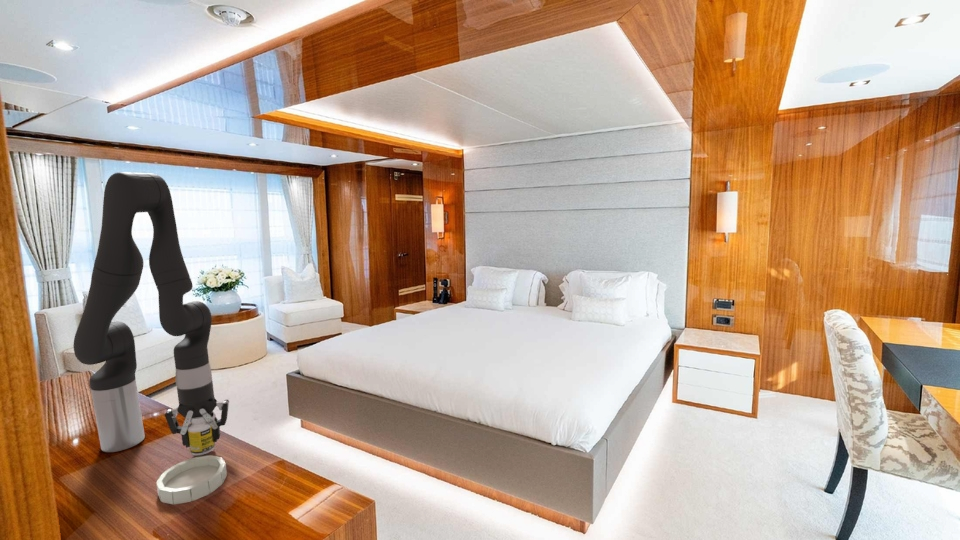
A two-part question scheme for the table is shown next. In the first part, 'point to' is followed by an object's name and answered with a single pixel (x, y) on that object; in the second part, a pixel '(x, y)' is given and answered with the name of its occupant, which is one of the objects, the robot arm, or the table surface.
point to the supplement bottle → (200, 436)
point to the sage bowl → (191, 479)
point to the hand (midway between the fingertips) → (202, 442)
